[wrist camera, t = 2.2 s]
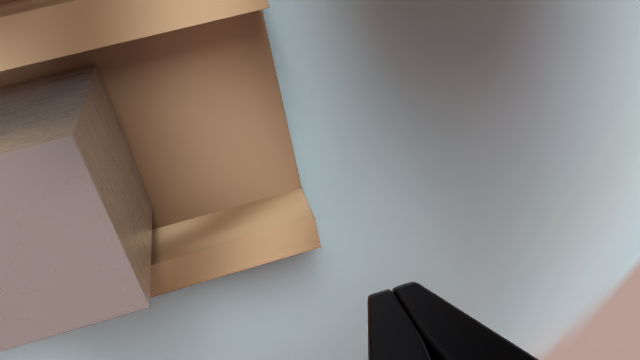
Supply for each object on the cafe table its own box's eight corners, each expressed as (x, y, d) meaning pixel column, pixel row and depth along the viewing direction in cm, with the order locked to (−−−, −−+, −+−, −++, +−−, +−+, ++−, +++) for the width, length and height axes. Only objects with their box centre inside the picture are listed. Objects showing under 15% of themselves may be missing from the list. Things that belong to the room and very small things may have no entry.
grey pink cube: (96, 64, 16) (72, 135, 12) (152, 206, 19) (149, 307, 14) (-88, 108, 15) (-182, 200, 11) (-3, 248, 18) (-53, 367, 14)
